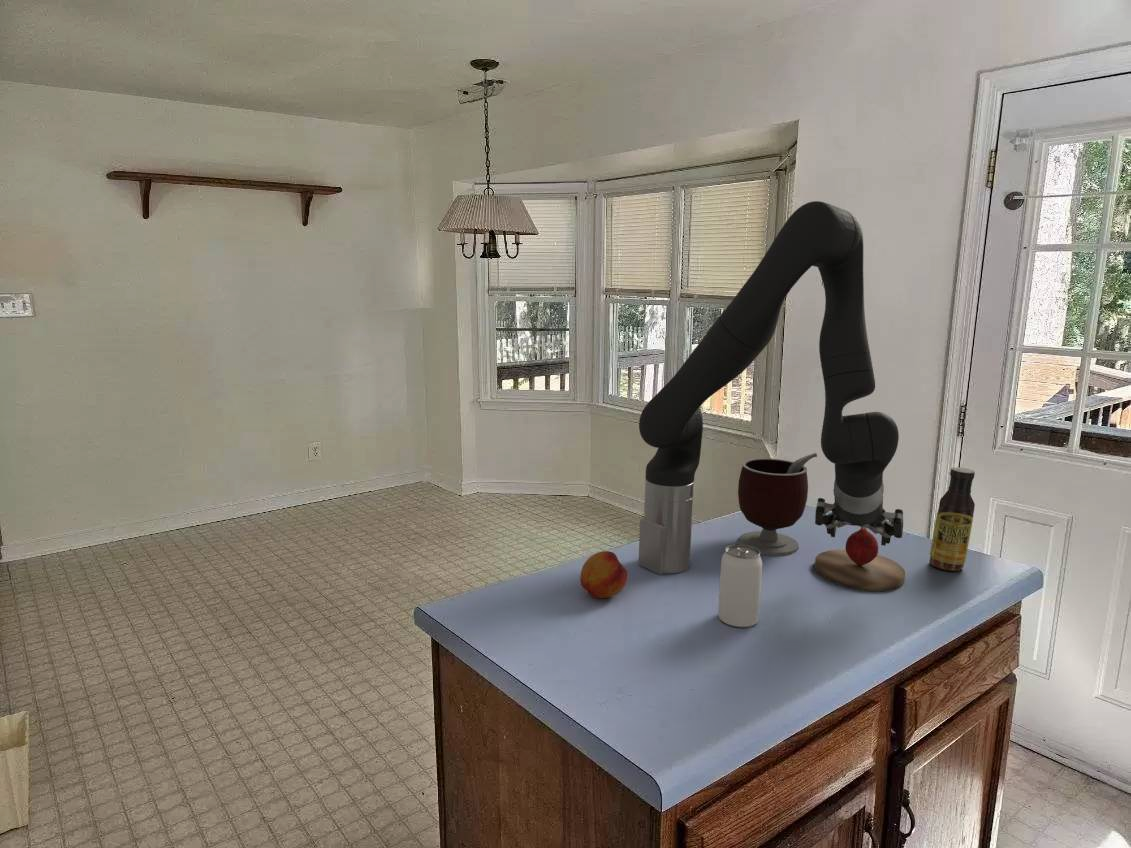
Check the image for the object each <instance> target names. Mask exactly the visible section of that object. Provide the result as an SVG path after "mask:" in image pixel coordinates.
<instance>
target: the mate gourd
mask: <svg viewBox="0 0 1131 848" xmlns="http://www.w3.org/2000/svg"><path fill="white" fill-rule="evenodd" d="M817 457H818V454H817V452H813V453H810V454H807V455H804V456H803V457H800V458H798V459H796V460H795V461H793V460H792V461H791V460H786V459H780V458H766V457H764V458H763V457H762V458H751V459H747V460H745V461H743V462H742V467H741V469H740V474H739V478H738V488H737V497H738V506H739V508H740V511H741V513H742V515H743V516H744V517H745V519H746V520H747V522H749V523H750V524H753V525H755V526H758V527H760V528H762V530H761V531H759V530H758V531H757V530H755V531H747V532H745V533H742V534H740V535H739V537H738V545H747V546H751V547H754V548H756V549H758V550H759V551H760V555H767V556H776V557H777V556H779V557H780V555H781V556H789V555H793V554H795V553H797V552H798V551H797V550H799V549H798V548H799V547H800V544H799V542H798V540H796V539H795V538H793V537H791V536H789V535H786V534H783V533H778V532H777V530H781V529H784V528H790V527H792V526H794V525H795V524H796V523H797V522H798V521H799V520H800V518H802V516H803V515H804V511H805V509H806V505H807V502H808V501H807V500H808V494H809V481H808V468H807V466H805V465H806V463H808V462H809V461H810V460H811V459H813V458H817ZM796 551H797V552H796ZM794 552H795V553H794ZM792 553H793V554H792Z"/></svg>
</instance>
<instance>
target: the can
mask: <svg viewBox="0 0 1131 848" xmlns="http://www.w3.org/2000/svg"><path fill="white" fill-rule="evenodd" d="M762 571H763V560H762V557H761V554H760V551H759V550H758V549H756V548H754V547H751V546H747V545H740V544H732V545H728V546H726V547H725V548H724V553H723V554H722V556H721V563H720V577H719V579H720V580H719V595H718V608H717V609H718V611H717V616H718V618H719V620H720V621H721V622H722V623H723V622H724V623H723V624H725V625H727V626H730V627H734V628H738V627H739V628H740V629H745V628H751V627H753V626H754V625H756V624H757V623H758V620H759V614H760V613H759V611H760V601H761V599H760V598H761V587H762V575H763V574H762ZM739 628H738V629H739Z"/></svg>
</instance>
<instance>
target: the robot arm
mask: <svg viewBox="0 0 1131 848" xmlns="http://www.w3.org/2000/svg"><path fill="white" fill-rule="evenodd" d="M811 267H816V268H817V269H818V271H819V274H820V277H821V280H822V284H823V288H824V296H825V298H824V299H825V300H824V301H825V303H824V304H825V305H824V307H825V308H824V315H823V319H822V325H821V328H820V333H819V344H818V349H819V351H818V352H819V359H820V366H821V372H822V380H823V385H824V386H823V387H824V398H825V399H824V400H825V401H824V402H825V403H824V404H825V405H824V415H823V419H822V420H823V421H822V428H821V434H820V447H821V450H822V454H823V455H824V456H825V458H826V459H827V461H829V462H830V463H832V464H834V478H835V479H834V483H833V490H832V491H833V495H834V497H833V498H834V502H833V503H827V502H826V499H825V498H822V497H818V498H817V502H816V506H815V507H816V508H815V516H814V518H815V519H814V524H815V525H816V526H822V525H823V526H825V528H826V533H827V534H828V535H830V537H831V538H836V533H837V528H839V529H840V528H843V527H845V526H847V525H848V526H854V527H860V528H861V527H865V528H866V529H867V530H868V529H869V531H871V532H873V533H874V534H875V535H877V534H879V535H880V536H881V544H880V545H881V546H884V547H886V544H890V543H891V538H892V536H894V538H897V539H901V538H903V532H904V531H903V530H904V511H903V510H902V509H900V508H897V509H895V510H894V512H889V511H888V512H887V511H886V510H885V509H884V507H883V505H884V489H885V487H884V481H883V478H884V472H885V470H886V468H887V467H888V465H889V464H891V463H890V462H891V461H892V459H893V458H894V456H895V454H896V453H897V449H898V446H899V436H900V435H899V429H898V428H899V427H898V426H897V423H896V421H895V420H894V419H893V417H891V416H890V415H889V414H887V413H885V412H882V411H871V412H864V413H857V414H849V415H843V410H844V407H846V405H848V404H849V403H852V402H853V401H857V400H859V399H862V398H865V397H867V396H870V395H871V394H873V393H874V391H875V389H876V379H875V373H874V367H873V361H872V357H871V351H870V346H869V339H868V338H869V337H868V333H867V325H866V313H865V312H866V311H865V292H864V291H865V290H864V289H865V286H864V285H865V284H864V283H865V281H864V279H865V278H864V232H863V228H862V224H861V222H860V219H858V218H857V216H856V215H854V213H852V212H850V211H848V210H846V209H843V208H841V207H839V206H836V205H832V204H830V203H827V202H824V201H820V200H819V201H816V200H815V201H814V200H813V201H809V202H806V203H804V204H802V205H801V206H799V207H798V208H797V209H796V210H795V211H793V213H792V214H791V215H790V216H789V217H788V218H787V220H786V221H785V223H784V224H783V226H782V227H781V229H780V230H779V231H778V233H777V235H776V236H775V238H774V240H773V241H772V243H771V245H770V247H769V248H768V250H767V251H766V253H765V254H764V256H763V257H762V259H761V261H760V262H759V264H758V265H757V267H756V268H755V270H754V271H753V272H752V274H751V275H749V278H748V279H747V280H746V282H745V283H744V284H743V285H742V287H741V288H740V289H739V291H738V292H737V293H736V295H735V297H733V299H732V301H731V302H730V303H729V304H728V305H727V307H726V308H724V310H723V311H722V313H721V314H719V316H718V318H717V319H716V320H715V321H714V322H713V324H712V326H710V327H709V329H708V330H707V331H706V334H704V336H703V338H701V340H700V342H699V343H697V345H696V347H695V348H694V350H692V352H691V353H689V354H690V355H688V358H686V360H685V361H684V363H682V365H681V367H680V368H679V369H678V370H677V372H676V373H675V374H674V376H672V378H671V379H670V380H669V381H668V382H667V383H666V384H665V385H664V386H663V387H662V388H661V389H660V390H659V391H658V392H657V393H656V394H655V395H654V396H653V397H652V398H651V399H650V400H649V401H648V402H647V404H646V405H645V406H644V408H642V409H643V410H642V411H641V413H640V416H639V419H638V421H639V422H638V430H639V434H640V437H641V439H642V440H643V441H644V443H646V444H647V445H648V446H651V447H654V448H655V449H656V448H657V449H656V452H655V454H654V456H653V457H652V458H651V459H650V460H649V461H648V463H647V464H646V466H645V481H644V483H645V484H644V504H643V517H641V518H640V519H639V534H638V535H639V539H638V540H639V541H638V542H639V543H638V565H639V566H640V567H643V568H645V569H647V570H650V571H651V572H654V573H656V574H659V575H663V574H677V573H682V572H685V571H687V570H689V568H690V566H691V565H690V564H691V547H692V546H691V544H692V542H691V541H692V527H693V526H692V524H693V505H694V492H695V475H696V472H697V470H698V467H699V464H700V460H701V452H702V451H701V450H702V444H703V443H702V440H703V433H704V432H703V431H704V429H703V428H704V419H703V413H702V410H701V406H702V404H704V403H705V402H706V401H707V400H709V398H710V397H711V396H713V395H714V394H715V393H717V392H718V391H720V390H722V389H723V388H724V387H725V386H726V385H728V384H729V383H730V382H732V381H733V380H735V379H736V378H737V377H739V375H741V374H742V373H743V372H744V371H745V370H746V369H747V368H748V367H749V366H750V365H751V364H752V363H753V362H754V361H755V360H756V359H757V357H758V356H759V355H760V354H761V353H762V352H763V350H764V349H765V348H766V346H767V345H768V344H769V343H770V341H771V340H772V337H773V336H774V334H775V331H776V328H777V326H778V322H779V321H778V320H779V317H780V314H781V310H782V306H783V303H784V301H785V299H786V298H787V295H788V294H790V293H789V292H790V291H791V289H793V287H794V286H795V285H796V284H797V282H799V280H800V279H801V278H802V277H803V276H804V274H805V273H806V272H808V271H809V270H810V268H811Z"/></svg>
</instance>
